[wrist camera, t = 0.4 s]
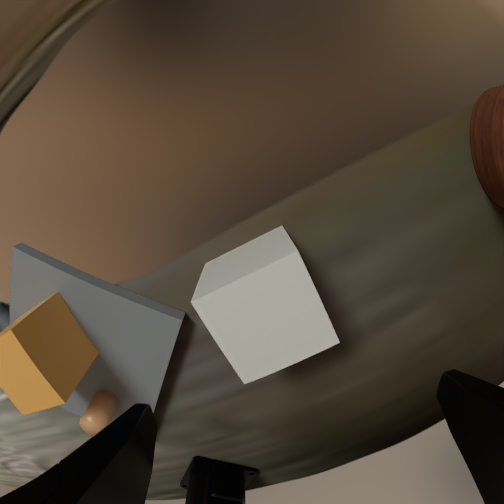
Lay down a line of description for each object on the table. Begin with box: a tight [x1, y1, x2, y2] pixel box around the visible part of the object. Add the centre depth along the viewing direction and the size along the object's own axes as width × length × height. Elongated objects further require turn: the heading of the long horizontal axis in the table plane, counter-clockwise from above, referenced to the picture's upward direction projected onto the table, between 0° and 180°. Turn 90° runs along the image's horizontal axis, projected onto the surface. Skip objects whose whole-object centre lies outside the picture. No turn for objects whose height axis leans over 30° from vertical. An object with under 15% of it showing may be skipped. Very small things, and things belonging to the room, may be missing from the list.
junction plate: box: [10, 243, 185, 436], centre depth 20 cm, size 14×14×5 cm
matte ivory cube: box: [191, 226, 340, 384], centre depth 18 cm, size 5×5×6 cm
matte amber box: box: [0, 292, 99, 415], centre depth 17 cm, size 5×5×6 cm
